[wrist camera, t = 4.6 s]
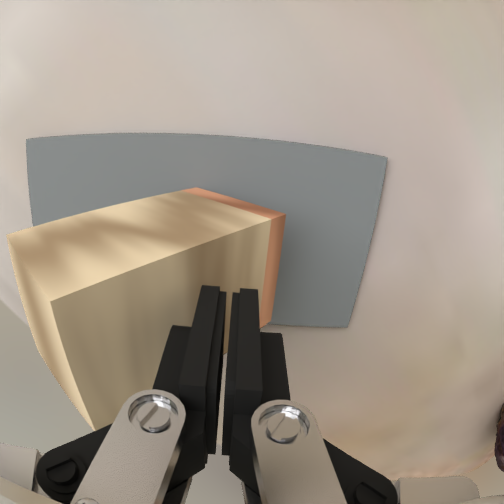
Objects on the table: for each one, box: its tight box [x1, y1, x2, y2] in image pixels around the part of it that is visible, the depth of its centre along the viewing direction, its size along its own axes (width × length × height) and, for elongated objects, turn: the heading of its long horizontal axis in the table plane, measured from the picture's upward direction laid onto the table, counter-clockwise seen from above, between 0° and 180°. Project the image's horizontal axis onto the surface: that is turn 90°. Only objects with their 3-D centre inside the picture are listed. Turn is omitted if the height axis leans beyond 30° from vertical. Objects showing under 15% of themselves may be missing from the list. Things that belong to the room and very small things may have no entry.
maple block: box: [7, 187, 286, 431], centre depth 11 cm, size 5×5×9 cm
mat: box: [26, 133, 387, 328], centre depth 16 cm, size 19×10×1 cm, turn 85°
